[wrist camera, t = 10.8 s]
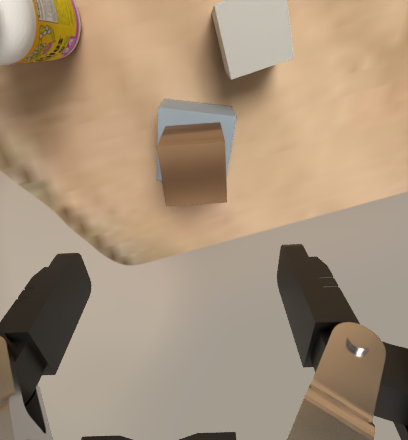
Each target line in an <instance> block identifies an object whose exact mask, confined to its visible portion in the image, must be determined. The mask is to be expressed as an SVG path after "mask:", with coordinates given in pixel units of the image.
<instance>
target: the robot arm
mask: <svg viewBox="0 0 408 440" xmlns="http://www.w3.org/2000/svg"><path fill="white" fill-rule="evenodd" d="M277 282H278V288H279V292H280V295H281V298H282V301H283V304H284V307H285V311H286V314H287V317H288V320H289V323H290V327H291V330H292V333H293V336H294V339H295V343H296V345H297V349H298V352H299V355H300V359H301V362H302V365H303V367H314V369H315V375H314V378H313V380H312V382H311V385H310V386H309V388H308V390H307V392H306V395H305V397H304V399H303V402H302V404H301V407H300V409H299V412H298V414H297V417H296V419H295V422H294V424H293V427H292V429H291V431H290V434H289V436H288V439H287V440H374V435H375V425H374V424H373V415H374V416H377V417H380V418H383V419H387V420H390V421H393V422H394V424H395V427H396V429H397V431H398V433H399V435H400V438H401V440H408V349H407V348H403V347H399V346H395V345H391V344H388V343H385V342H382V341H381V339H380V338H379V337H378V336H377V335H376V334H375V333H374V332H373V331H371V330H370V329H368V328H367V327H365V326H363V325H360V323H359V322H358V320H357V318H356V316H355V314H354V313H353V311H352V309H351V307H350V306H349V304H348V302H347V300H346V298H345V297H344V295H343V293H342V291H341V290H340V288H338V284H337V283H336V281H335V279H333V275H332V273H331V272H330V270H329V268H328V266H327V265H326V264H325V263H323V262H322V261H321V260H320V259H319V258H318V257H308V255H307V253H306V251H305V249H304V247H303V245H302V244H293V245H282V246H281V250H280V256H279V264H278V271H277ZM90 293H91V281H90V278H89V275H88V273H87V270H86V267H85V265H84V262H83V260H82V257H81V255H80V254H79V253H66V254H58V255H56V257H55V258H54V259H53V261H52V262H51V264H50V265H49V267H44V268H43V269H42V270H40V271H39V272H38V273H37V274H36V275H34V276H33V277H32V278H31V280H30V281H29V283H28V284H27V285H26V287H25V290H23V291H22V292H21V294H20V295H19V297H18V299H17V300H16V301H15V302H14V304H13V305H12V306H11V308H10V309H9V311H8V312H7V314H6V315H5V316H4V318H3V319H2V320H1V322H0V440H53V438H52V434H51V431H50V427H49V423H48V419H47V415H46V411H45V407H44V403H43V399H42V396H41V392H40V388H39V386H38V385H37V384H38V382H39V380H40V378H41V376H42V375H55V374H56V372H57V370H58V367H59V365H60V363H61V360H62V358H63V356H64V353H65V351H66V349H67V347H68V344H69V342H70V340H71V337H72V335H73V333H74V330H75V328H76V326H77V324H78V321H79V319H80V317H81V314H82V312H83V310H84V308H85V305H86V303H87V301H88V298H89V296H90ZM81 440H132V439H129V438H125V437H122V436H92V437H82V439H81ZM180 440H236V433H235V432H224V433H197V434H194V435H191V436H188V437H185V438H183V439H180Z"/></svg>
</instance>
